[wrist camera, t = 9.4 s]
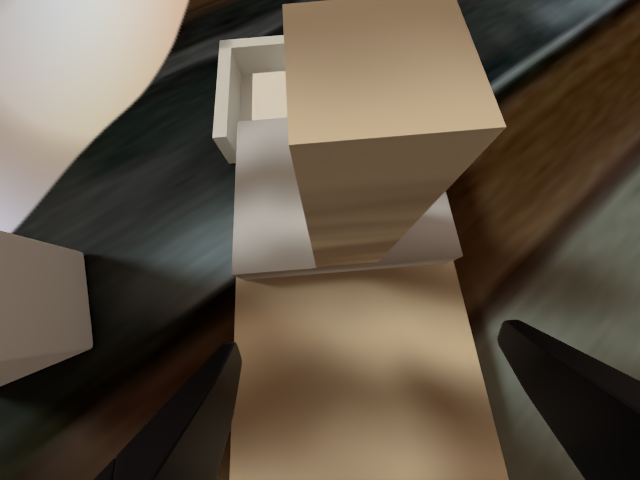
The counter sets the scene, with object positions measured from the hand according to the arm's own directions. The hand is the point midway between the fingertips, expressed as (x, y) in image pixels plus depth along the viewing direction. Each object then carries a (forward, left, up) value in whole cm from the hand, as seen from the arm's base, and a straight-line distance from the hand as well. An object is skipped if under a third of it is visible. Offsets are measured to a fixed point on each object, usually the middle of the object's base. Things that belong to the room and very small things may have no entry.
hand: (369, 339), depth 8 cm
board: (+2, -1, -8) cm, 8 cm away
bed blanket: (+8, -3, -6) cm, 11 cm away
